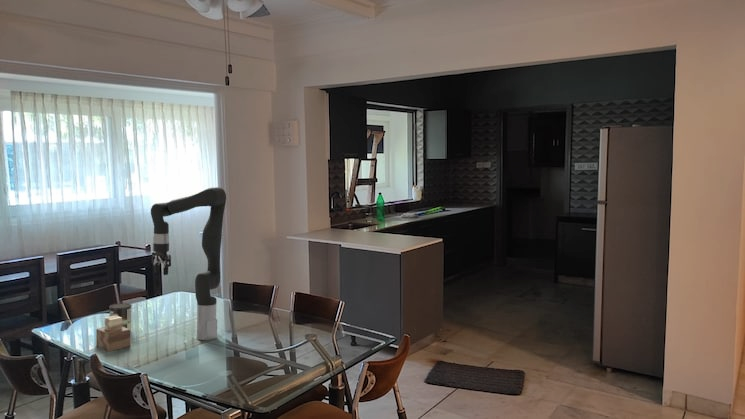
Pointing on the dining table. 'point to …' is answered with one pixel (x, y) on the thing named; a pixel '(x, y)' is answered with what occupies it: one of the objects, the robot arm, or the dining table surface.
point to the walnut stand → (113, 338)
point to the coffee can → (122, 313)
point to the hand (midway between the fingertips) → (161, 273)
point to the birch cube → (113, 323)
